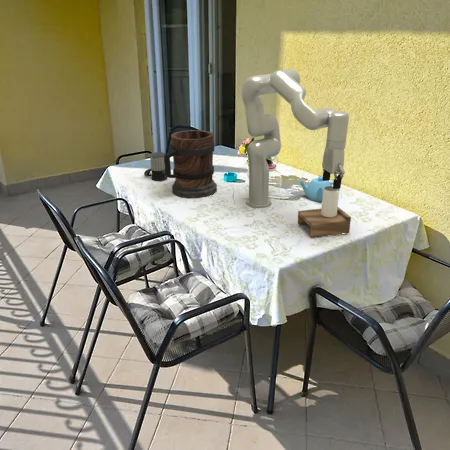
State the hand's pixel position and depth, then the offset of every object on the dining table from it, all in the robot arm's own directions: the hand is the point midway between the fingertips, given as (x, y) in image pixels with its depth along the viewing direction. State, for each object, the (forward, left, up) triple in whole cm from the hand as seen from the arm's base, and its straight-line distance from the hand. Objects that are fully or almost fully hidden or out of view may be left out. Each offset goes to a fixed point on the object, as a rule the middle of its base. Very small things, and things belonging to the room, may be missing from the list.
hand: (331, 184), depth 177 cm
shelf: (0, -2, -20) cm, 20 cm away
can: (0, 0, -14) cm, 14 cm away
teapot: (-35, +12, -20) cm, 42 cm away
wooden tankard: (-60, -50, -20) cm, 81 cm away
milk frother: (-89, -66, -20) cm, 113 cm away
